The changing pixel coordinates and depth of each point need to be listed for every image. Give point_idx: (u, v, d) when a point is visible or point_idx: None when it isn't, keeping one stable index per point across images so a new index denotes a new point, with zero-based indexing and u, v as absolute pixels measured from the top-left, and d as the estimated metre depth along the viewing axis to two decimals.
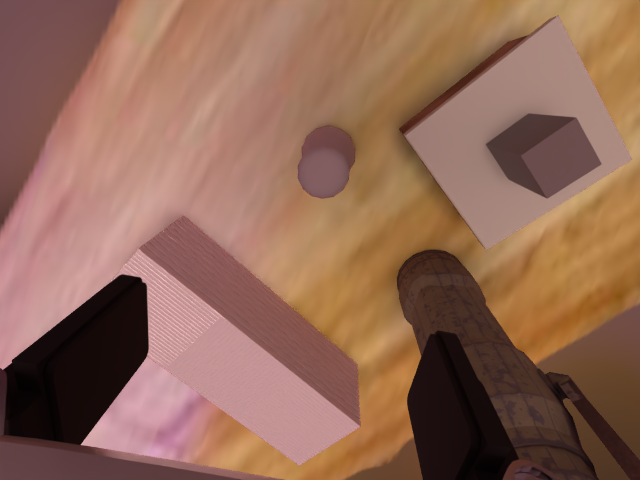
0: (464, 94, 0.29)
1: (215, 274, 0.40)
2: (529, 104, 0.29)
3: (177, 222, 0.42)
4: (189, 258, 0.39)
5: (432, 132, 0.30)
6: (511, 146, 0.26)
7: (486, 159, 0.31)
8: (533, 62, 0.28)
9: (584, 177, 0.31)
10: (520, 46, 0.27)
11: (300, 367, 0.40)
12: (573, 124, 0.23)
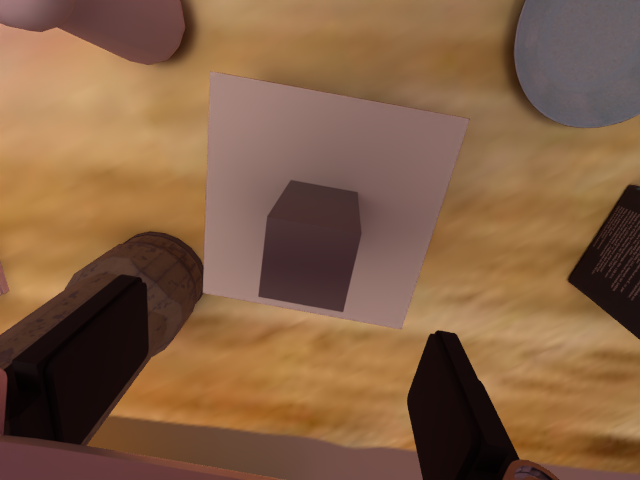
0: (314, 97, 0.18)
1: None
2: (366, 183, 0.20)
3: None
4: None
5: (245, 103, 0.19)
6: (287, 201, 0.17)
7: (278, 197, 0.21)
8: (407, 142, 0.19)
9: (350, 307, 0.24)
10: (411, 109, 0.18)
11: None
12: (352, 238, 0.14)
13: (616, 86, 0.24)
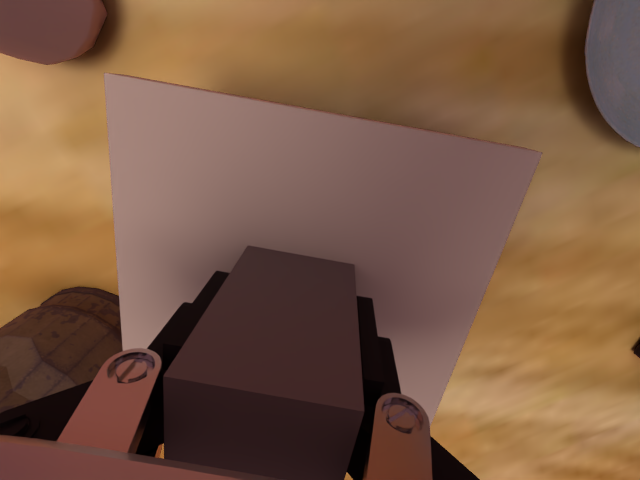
0: (282, 117, 0.11)
1: None
2: (368, 251, 0.13)
3: None
4: None
5: (167, 126, 0.11)
6: (226, 309, 0.09)
7: (229, 271, 0.13)
8: (436, 190, 0.12)
9: None
10: (444, 137, 0.11)
11: None
12: (345, 418, 0.07)
13: None
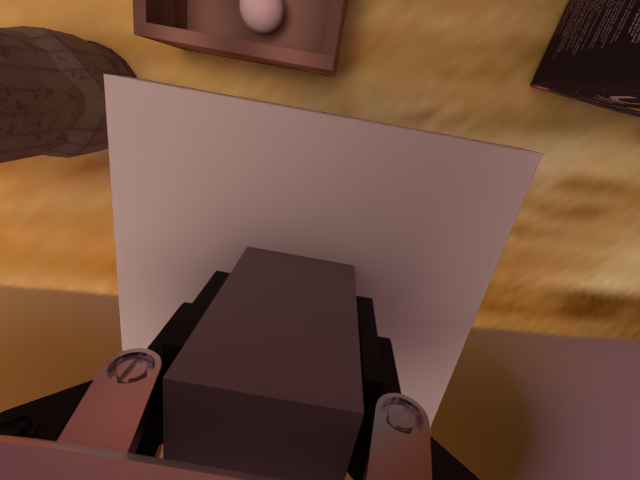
0: (281, 118, 0.11)
1: None
2: (367, 252, 0.13)
3: None
4: None
5: (167, 127, 0.11)
6: (226, 310, 0.09)
7: (229, 272, 0.13)
8: (435, 191, 0.12)
9: None
10: (443, 138, 0.11)
11: None
12: (344, 421, 0.07)
13: None
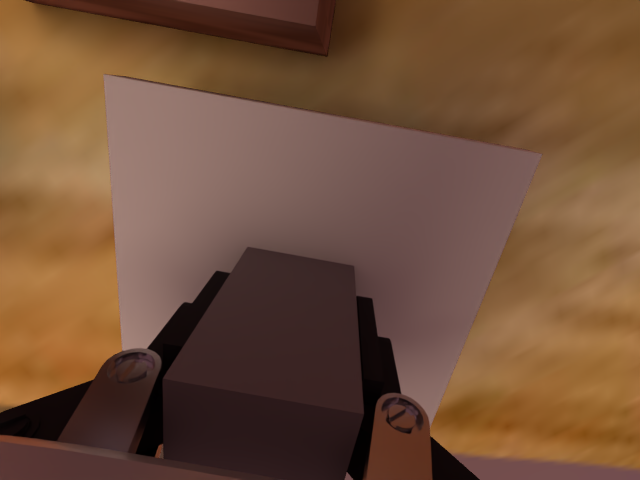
0: (281, 118, 0.11)
1: None
2: (367, 252, 0.13)
3: None
4: None
5: (167, 127, 0.11)
6: (226, 311, 0.09)
7: (229, 272, 0.13)
8: (435, 191, 0.12)
9: None
10: (443, 139, 0.11)
11: None
12: (344, 420, 0.07)
13: None
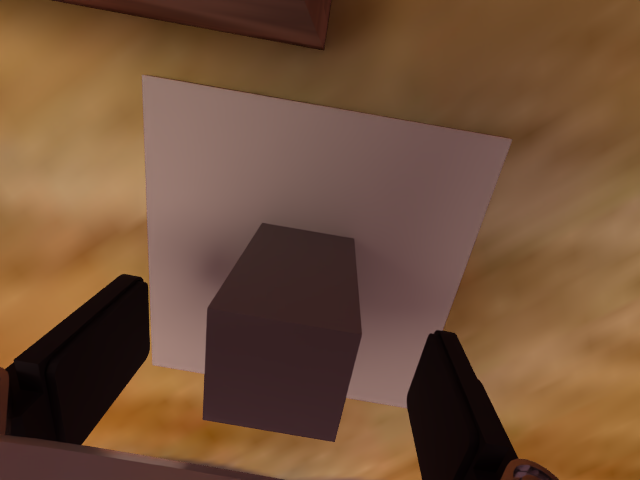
0: (292, 111, 0.13)
1: None
2: (365, 226, 0.15)
3: None
4: None
5: (194, 119, 0.13)
6: (249, 267, 0.11)
7: (246, 246, 0.15)
8: (423, 172, 0.14)
9: None
10: (429, 127, 0.13)
11: None
12: (347, 341, 0.09)
13: None
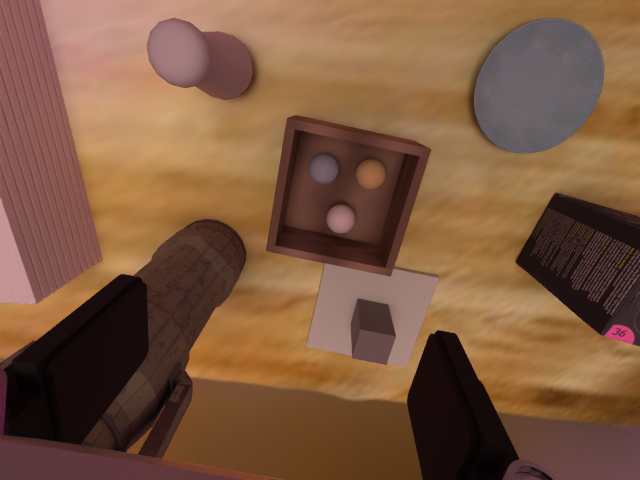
0: None
1: (1, 33, 0.30)
2: (392, 301, 0.44)
3: None
4: None
5: (340, 267, 0.42)
6: (363, 317, 0.40)
7: (350, 305, 0.44)
8: (411, 285, 0.43)
9: None
10: (414, 273, 0.42)
11: (18, 201, 0.32)
12: (392, 337, 0.38)
13: (543, 125, 0.36)
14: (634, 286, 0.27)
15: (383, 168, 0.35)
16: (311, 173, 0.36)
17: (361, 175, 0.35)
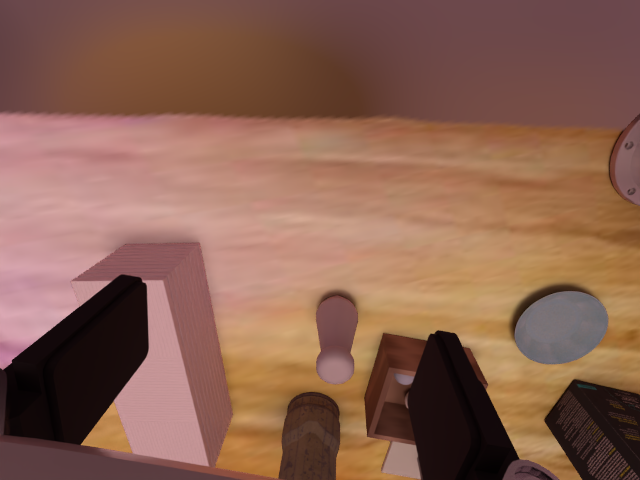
0: None
1: (194, 312, 0.45)
2: None
3: (193, 251, 0.45)
4: (186, 293, 0.43)
5: None
6: None
7: None
8: None
9: None
10: None
11: (203, 415, 0.47)
12: None
13: (564, 342, 0.49)
14: None
15: None
16: (396, 379, 0.50)
17: None
